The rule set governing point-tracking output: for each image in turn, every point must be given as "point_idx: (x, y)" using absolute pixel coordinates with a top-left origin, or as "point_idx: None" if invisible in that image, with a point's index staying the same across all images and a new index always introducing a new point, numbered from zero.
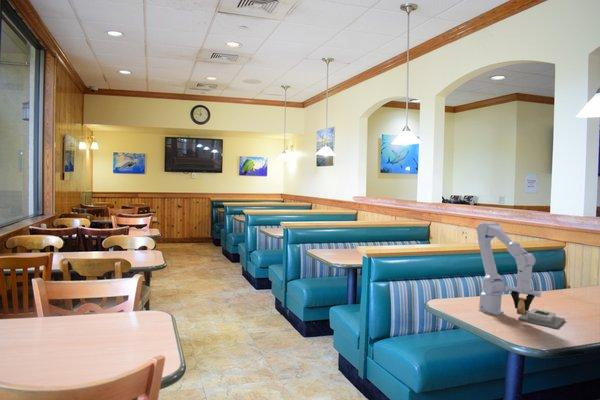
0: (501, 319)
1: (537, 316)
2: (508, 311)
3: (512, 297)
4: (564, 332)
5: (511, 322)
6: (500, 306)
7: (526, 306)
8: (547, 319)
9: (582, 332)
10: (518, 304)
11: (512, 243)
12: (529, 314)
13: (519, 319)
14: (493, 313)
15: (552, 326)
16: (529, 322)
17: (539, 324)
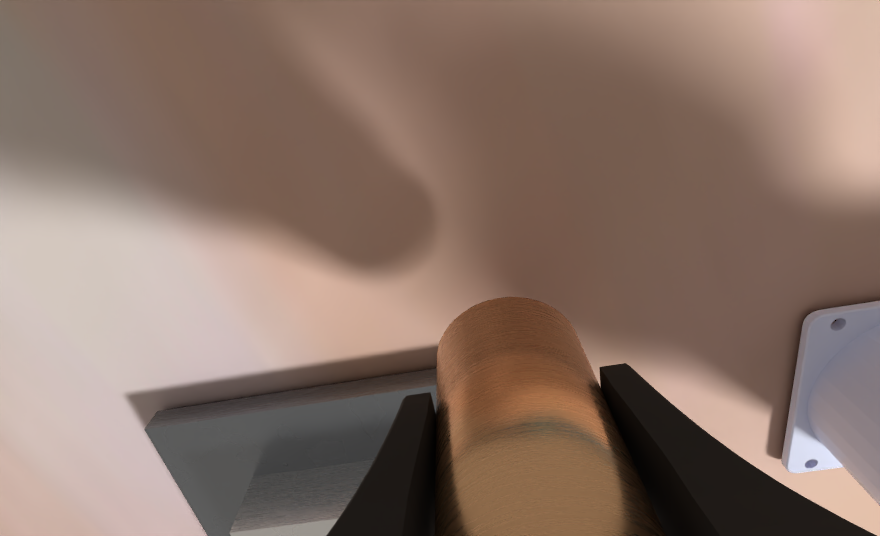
0: (721, 201)
1: None
2: None
3: (850, 522)
4: (61, 387)
5: (577, 200)
6: (867, 459)
7: (408, 446)
8: (274, 501)
9: (17, 511)
10: (583, 419)
11: None
12: None
13: None
14: (873, 306)
15: (189, 416)
16: (428, 370)
17: (322, 388)
